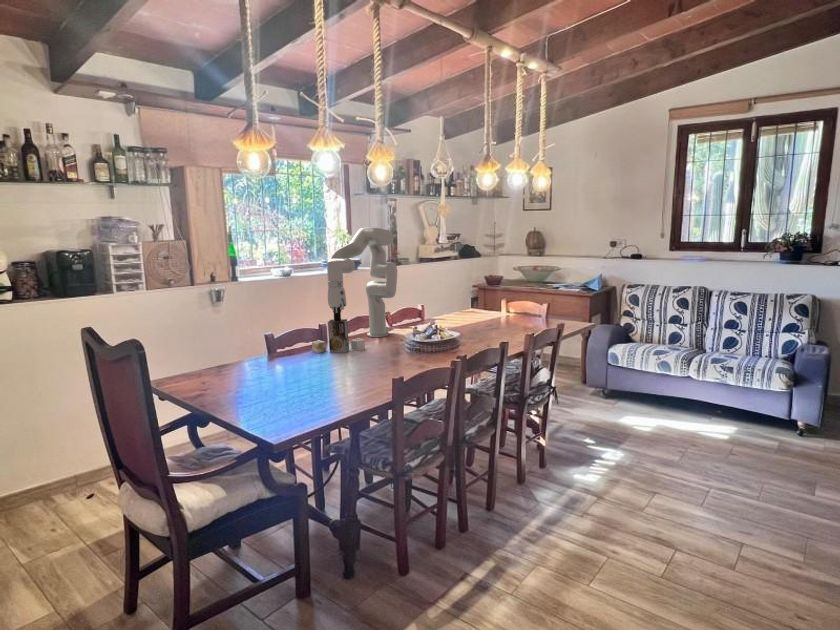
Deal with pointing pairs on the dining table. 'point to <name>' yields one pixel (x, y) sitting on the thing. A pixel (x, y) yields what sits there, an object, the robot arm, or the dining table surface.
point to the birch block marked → (318, 346)
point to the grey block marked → (357, 344)
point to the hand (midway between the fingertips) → (337, 320)
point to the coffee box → (338, 335)
